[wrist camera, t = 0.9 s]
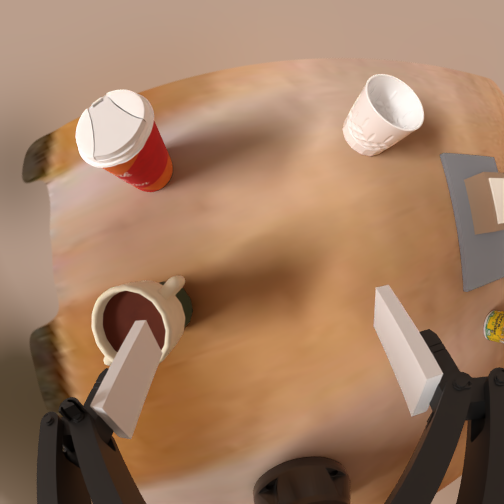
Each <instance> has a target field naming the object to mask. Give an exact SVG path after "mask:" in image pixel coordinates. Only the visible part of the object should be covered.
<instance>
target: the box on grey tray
mask: <svg viewBox="0 0 504 504" xmlns="http://www.w3.org/2000/svg"><path fill="white" fill-rule="evenodd" d="M440 158H441V161H442V164H443V168H444V172H445V175H446V179H447V183H448V187H449V191H450V196H451V200H452V205H453V210H454V215H455V221H456V226H457V233H458V239H459V246H460V254H461V264H462V274H463V289H464V291H465V292H468V291H471V290H473V289H476V288H478V287H481V286H483V285H486V284H488V283H491V282H493V281H495V280H498V279H500V278H502V277H504V173H498V170H497V166H496V163H495V159H494V157H487V156H477V155H466V154H453V153H442V154H440Z"/></svg>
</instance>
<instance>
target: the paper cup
mask: <svg viewBox="0 0 504 504" xmlns="http://www.w3.org/2000/svg"><path fill="white" fill-rule="evenodd" d="M106 94H107V96H106V95H105V96H104V97H103V98H102V97H100V98H99V99H98V100H96V101H95V102H94V103H92V106H91V107H89V109H86V110H85V111H84V112H83V114H82V116H81V117H80V119H79V122H78V125H77V128H76V143H77V145H78V150H79V153H80V155H81V157H82V158H83V159H84V160H85V161H86V162H87V163H88V164H90V165H92V166H94V167H99V168H103V169H105V170H107V171H108V172H110V173H112V174H114V175H115V176H117V177H119V178H120V179H122V180H124V181H126V182H127V183H129V184H131V185H133V186H134V187H136V188H138V189H140V190H142V191H146V192H154V191H157V190H159V189H161V188H163V187H164V186H165V185H166V184H167V183H168V182H169V180H170V178H171V176H172V172H173V165H172V161H171V159H170V156H169V154H168V151H167V149H166V147H165V144H164V142H163V140H162V137H161V135H160V133H159V131H158V128H157V126H156V124H155V121H154V111H153V108H152V106H151V104H150V102H149V101H148V100H147V99H146V98H145V97H143V96H142V95H140V94H137V93H135V92H132V91H129V90H114V91H111V92H108V93H106Z"/></svg>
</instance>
